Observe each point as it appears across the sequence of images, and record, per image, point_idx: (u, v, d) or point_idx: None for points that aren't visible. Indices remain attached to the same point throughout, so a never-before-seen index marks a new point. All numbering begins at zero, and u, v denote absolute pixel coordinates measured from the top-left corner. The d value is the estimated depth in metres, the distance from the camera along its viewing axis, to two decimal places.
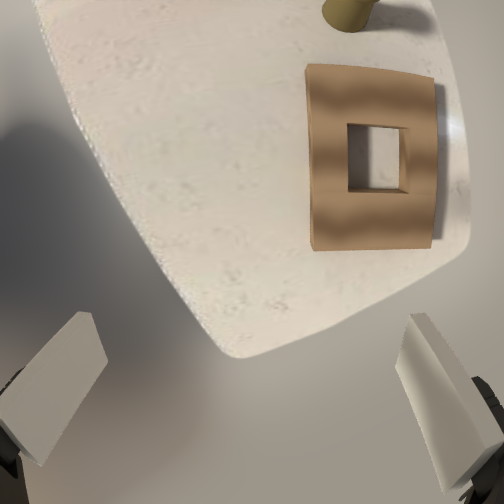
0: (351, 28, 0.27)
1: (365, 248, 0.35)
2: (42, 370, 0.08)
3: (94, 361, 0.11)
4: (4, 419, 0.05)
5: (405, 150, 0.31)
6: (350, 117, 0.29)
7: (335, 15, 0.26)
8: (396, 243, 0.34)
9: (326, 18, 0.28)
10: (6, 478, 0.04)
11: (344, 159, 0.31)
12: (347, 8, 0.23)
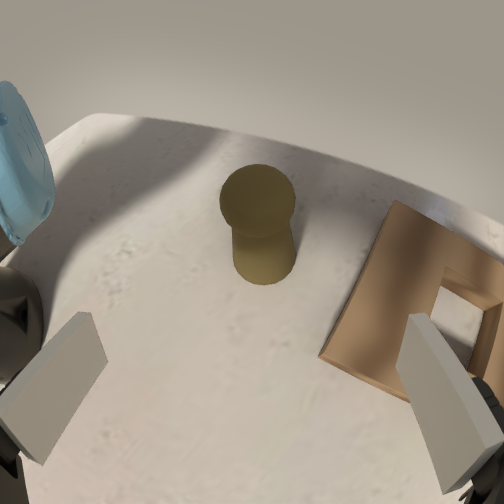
0: (291, 261, 0.27)
1: None
2: (42, 370, 0.08)
3: (94, 361, 0.11)
4: (4, 419, 0.05)
5: (459, 284, 0.24)
6: None
7: (268, 270, 0.25)
8: None
9: (260, 282, 0.27)
10: (6, 478, 0.04)
11: None
12: (275, 248, 0.23)
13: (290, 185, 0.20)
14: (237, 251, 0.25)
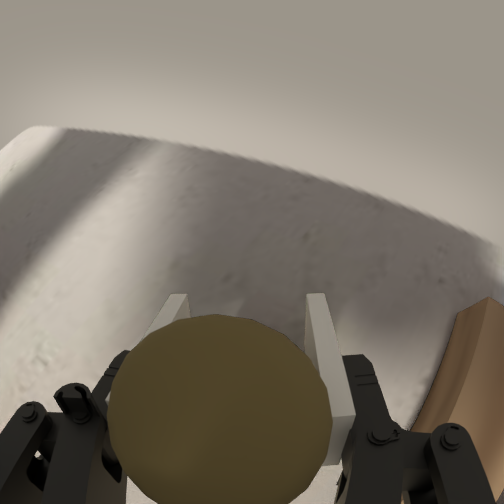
0: None
1: None
2: None
3: None
4: None
5: None
6: None
7: None
8: None
9: None
10: (109, 485, 0.05)
11: None
12: None
13: (323, 410, 0.05)
14: None
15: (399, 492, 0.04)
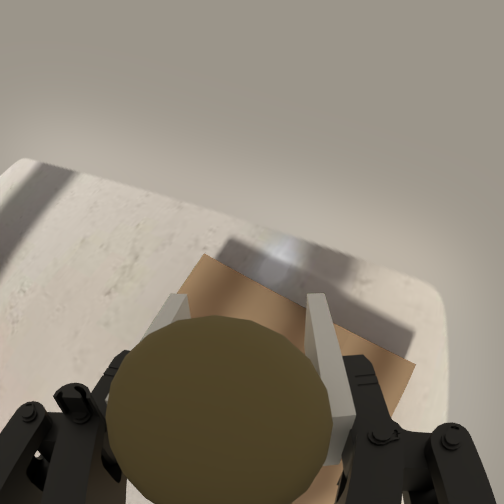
0: None
1: None
2: None
3: None
4: None
5: None
6: None
7: None
8: None
9: None
10: (109, 485, 0.05)
11: None
12: None
13: (323, 411, 0.05)
14: None
15: (400, 492, 0.04)
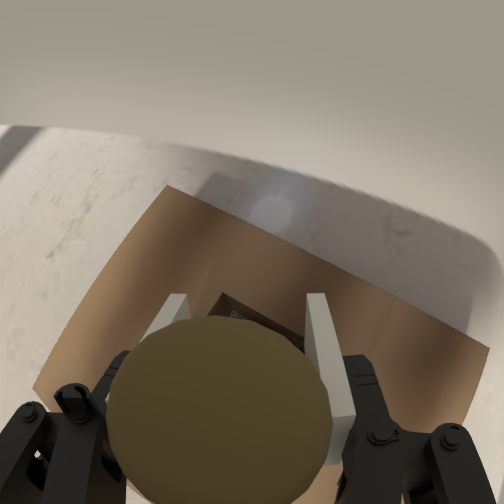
0: None
1: None
2: None
3: None
4: None
5: (271, 325, 0.16)
6: None
7: None
8: None
9: None
10: (109, 485, 0.05)
11: None
12: None
13: (323, 411, 0.05)
14: None
15: (399, 492, 0.04)
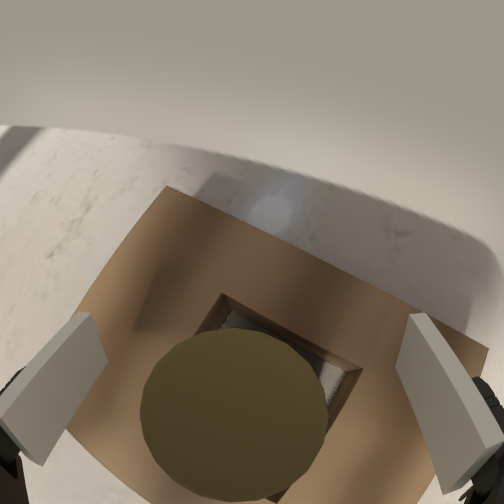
0: None
1: None
2: (42, 370, 0.08)
3: (94, 361, 0.11)
4: (4, 419, 0.05)
5: (270, 325, 0.16)
6: (133, 405, 0.13)
7: None
8: None
9: None
10: (6, 478, 0.04)
11: None
12: None
13: (320, 405, 0.06)
14: None
15: None
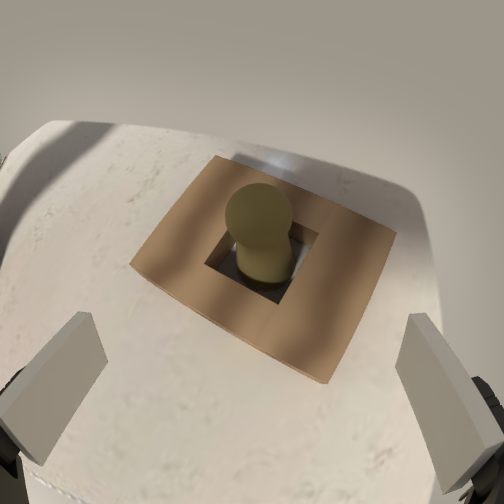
0: (291, 269, 0.29)
1: (360, 315, 0.24)
2: (42, 370, 0.08)
3: (94, 361, 0.11)
4: (4, 419, 0.05)
5: None
6: (201, 256, 0.28)
7: (269, 277, 0.28)
8: (372, 272, 0.26)
9: (262, 288, 0.30)
10: (6, 478, 0.04)
11: (238, 288, 0.27)
12: (275, 258, 0.25)
13: (288, 202, 0.22)
14: (241, 261, 0.27)
15: None
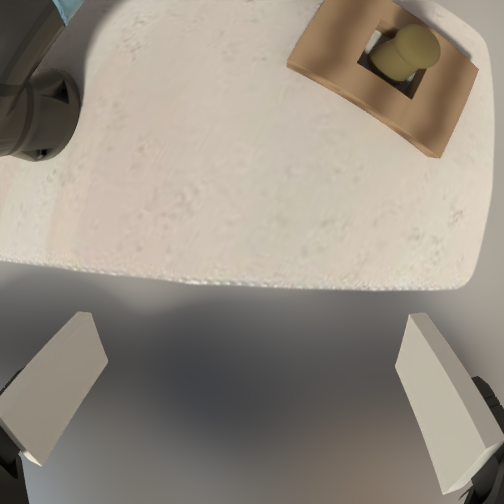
0: None
1: (457, 118, 0.28)
2: (42, 370, 0.08)
3: (94, 361, 0.11)
4: (4, 419, 0.05)
5: (395, 34, 0.27)
6: (353, 57, 0.27)
7: (401, 79, 0.28)
8: (464, 92, 0.27)
9: (390, 83, 0.31)
10: (6, 478, 0.04)
11: (385, 84, 0.28)
12: (415, 70, 0.25)
13: None
14: (387, 65, 0.27)
15: None
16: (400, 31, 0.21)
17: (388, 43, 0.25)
